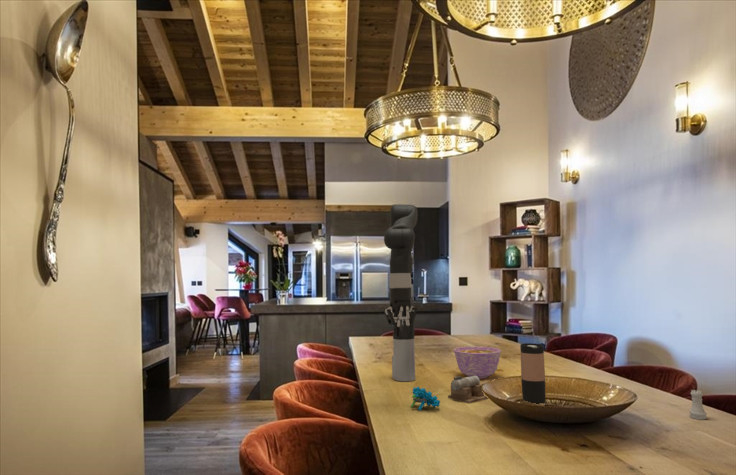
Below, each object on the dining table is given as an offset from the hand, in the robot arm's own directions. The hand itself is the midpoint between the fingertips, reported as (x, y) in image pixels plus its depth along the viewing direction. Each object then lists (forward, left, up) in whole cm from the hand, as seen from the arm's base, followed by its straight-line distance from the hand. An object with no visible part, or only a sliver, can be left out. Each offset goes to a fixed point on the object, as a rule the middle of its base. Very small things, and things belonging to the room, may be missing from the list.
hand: (401, 337), depth 161 cm
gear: (+6, +5, -23) cm, 25 cm away
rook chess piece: (+65, +62, -23) cm, 93 cm away
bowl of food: (-16, +56, -23) cm, 63 cm away
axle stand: (+6, +25, -23) cm, 34 cm away
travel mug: (+26, +36, -23) cm, 50 cm away
